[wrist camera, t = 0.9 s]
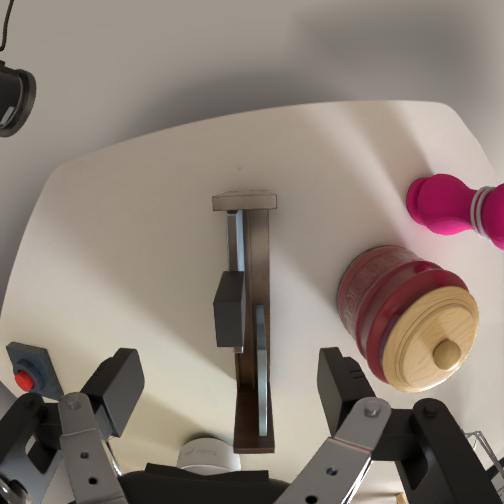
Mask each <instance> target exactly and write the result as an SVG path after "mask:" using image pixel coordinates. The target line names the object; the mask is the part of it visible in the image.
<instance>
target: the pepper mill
mask: <svg viewBox="0 0 504 504" xmlns="http://www.w3.org/2000/svg"><path fill="white" fill-rule="evenodd" d="M407 207H408V211H409V214H410V215H411V217H412V218H413V220H414V221H416V222H417V223H419V224H421V225H424V226H426V227H427V228H428V229H429V230H431V231H432V232H434V233H437V234H442V235H452V234H457V233H459V232H462V231H464V230H467V229H473V230H475V232H476V233H477V234H478V235H479V236H480V237H482V238H486V239H488V240H491V241H492V242H493V243H494V245H495V246H497V247H498V248H500V249H501V250H504V183H503V184H501V185H499V186H498V187H489V186H485V187H482V188H480V189H479V190H473V189H470V188H468V187H467V186H466V185H465V184H464V183H463V182H462V181H461V180H459V179H458V178H456V177H454V176H451V175H447V174H436V175H433V176H432V177H430V178H427V177H426V178H420V179H418V180H416V181H415V182H414V183H413V184H412V185H411V187H410V189H409V191H408V195H407Z"/></svg>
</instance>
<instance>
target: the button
mask: <svg viewBox="0 0 504 504" xmlns="http://www.w3.org/2000/svg"><path fill="white" fill-rule="evenodd" d="M15 380H16V383H17V384H18V386H19V387H20V388H21V389H22V390H24V391H26V392H28V391H29V390H30V389H31V388H32V387H33V386H34V382H33V380H32V378H31V377H30V376H29V375H28V374H27V373H26V372H25V371H23V370H21V371H19V372H18V373H17V374H16V375H15Z"/></svg>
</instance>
